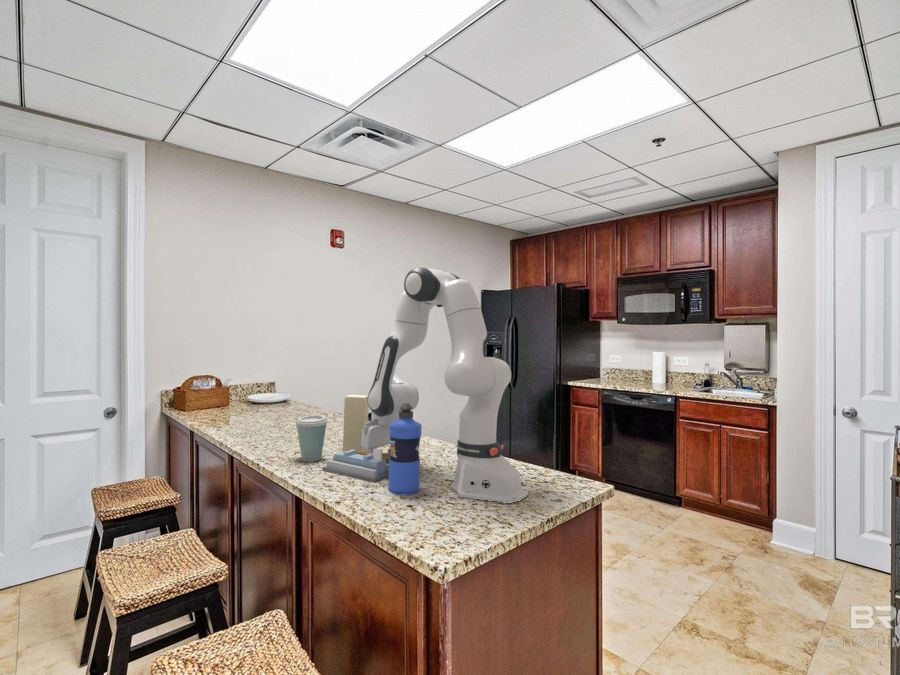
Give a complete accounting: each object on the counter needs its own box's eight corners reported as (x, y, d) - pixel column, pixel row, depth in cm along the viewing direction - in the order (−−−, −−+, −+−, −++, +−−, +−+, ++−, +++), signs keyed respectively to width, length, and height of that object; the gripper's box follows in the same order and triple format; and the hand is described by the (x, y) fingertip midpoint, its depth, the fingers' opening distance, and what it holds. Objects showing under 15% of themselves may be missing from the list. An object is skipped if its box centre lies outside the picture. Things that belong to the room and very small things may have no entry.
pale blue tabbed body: (385, 472, 151) (386, 448, 151) (376, 475, 147) (377, 451, 147) (339, 462, 161) (339, 440, 161) (329, 464, 157) (330, 442, 157)
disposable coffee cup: (317, 464, 161) (318, 420, 160) (288, 462, 163) (290, 418, 163) (331, 457, 171) (332, 415, 171) (304, 454, 173) (305, 414, 173)
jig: (396, 473, 152) (396, 464, 152) (374, 482, 143) (374, 472, 143) (345, 462, 164) (346, 454, 164) (322, 470, 154) (322, 461, 154)
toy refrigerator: (368, 448, 186) (369, 395, 186) (362, 452, 178) (364, 397, 178) (348, 447, 187) (350, 394, 186) (342, 451, 179) (344, 396, 179)
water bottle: (390, 495, 132) (392, 406, 132) (385, 485, 141) (388, 401, 140) (422, 493, 134) (425, 406, 134) (416, 483, 143) (418, 401, 143)
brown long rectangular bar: (409, 466, 163) (409, 458, 163) (400, 470, 158) (400, 461, 158) (364, 457, 173) (365, 449, 173) (355, 460, 169) (355, 452, 169)
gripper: (371, 423, 155) (370, 465, 155) (408, 415, 172) (407, 452, 172) (357, 421, 158) (355, 462, 158) (394, 413, 176) (393, 450, 176)
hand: (382, 457), depth 165 cm, fingers open, 7 cm apart
